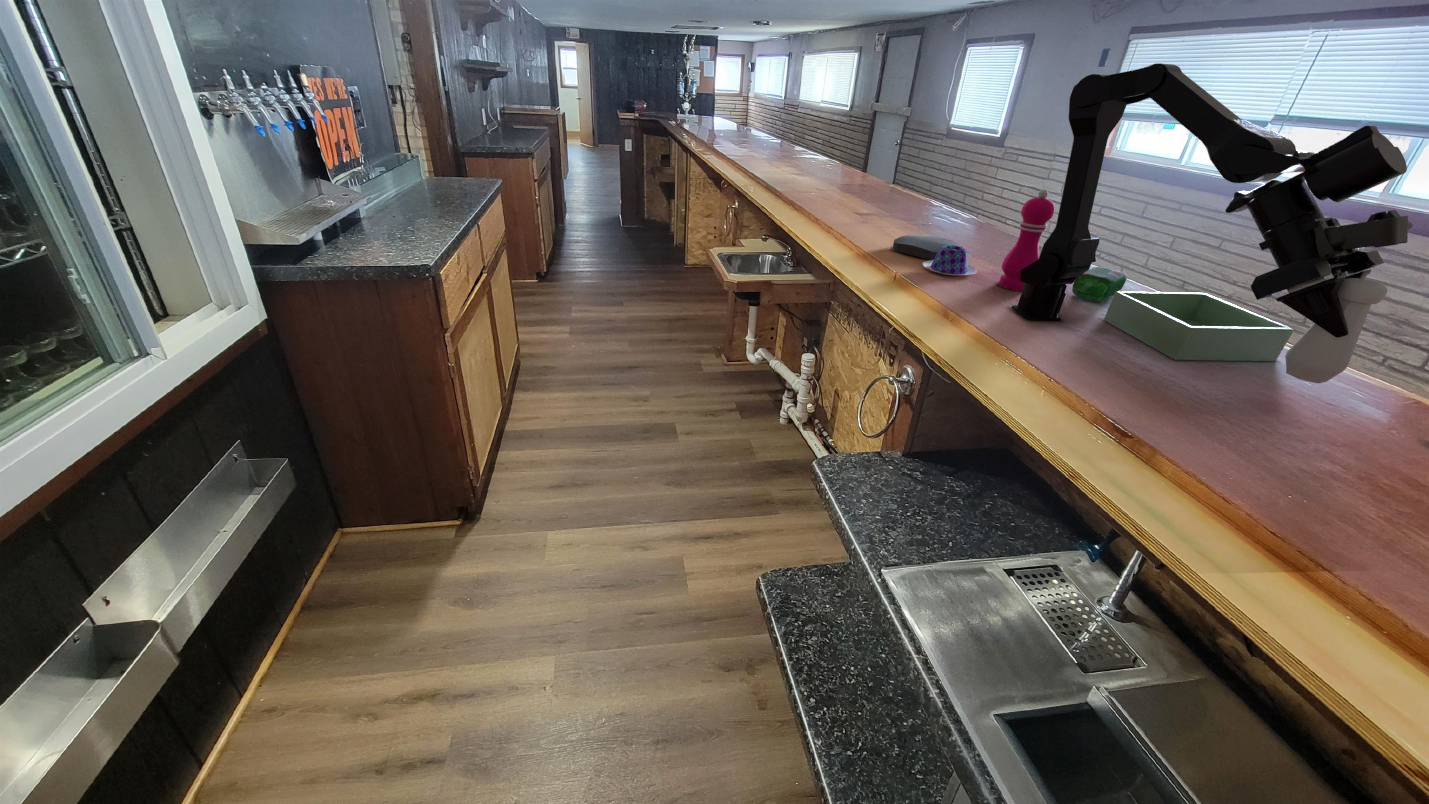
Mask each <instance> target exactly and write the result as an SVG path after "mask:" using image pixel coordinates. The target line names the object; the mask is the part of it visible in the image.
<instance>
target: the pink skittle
mask: <svg viewBox="0 0 1429 804" xmlns="http://www.w3.org/2000/svg"><path fill="white" fill-rule="evenodd" d="M1048 195H1049V191H1048V190H1047V189H1041V190H1039V191H1038V193H1037V197H1033V198H1030V199H1028V200H1027V201H1025V203H1024V204H1023V205H1022V207H1021V210H1020V216H1021V217H1022V220H1021V221H1020V222H1019V223H1020V225H1019V226H1018V229H1020V231H1019V236H1018V238H1017V241H1016V242H1015V245H1014V246H1013V247H1012V249H1011V250H1010V251H1008V253H1007V254H1006V256H1005V257H1004V259H1003V261H1002V263H1001V269H1002V272H1003V274H1002V275H1001V276H1000V278H999V281H998V285H999V286H1000V287H1002V288H1004V289H1008V290H1010V291H1017V292H1022V290H1023V287H1024V284H1025V283H1024V282H1021V270H1022V269H1023V268H1025V267H1027V266H1028V265H1030V264H1032V263H1033V262H1035V261H1037V260H1038V259H1039V256H1040V252H1039V245H1040V241H1041V237H1042V235H1043V233H1045V232H1046V231H1047V227H1048V224H1047V222H1049V221H1050V220H1051V219H1052V218H1053V216H1055V212H1056V206H1055V203H1054V202H1053V201H1052V200H1051V199H1049V198H1047V197H1048Z"/></svg>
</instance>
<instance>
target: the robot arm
mask: <svg viewBox="0 0 1429 804" xmlns="http://www.w3.org/2000/svg"><path fill="white" fill-rule="evenodd" d="M1069 94H1070V95H1069V98H1068V99H1069V100H1068V117H1067V118H1068V122H1069V126H1070V130H1071V133H1072V136H1073V141H1072V145H1071V150H1070V153H1069V160H1068V165H1067V170H1066V175H1065V179H1064V185H1063V189H1062V194H1061V199H1060V205H1059V209H1058V214H1057V219H1056V223H1055V226H1054V229H1053V230H1052V232H1051V233H1050V234H1049V236H1048V237H1047V239H1046V240H1045V241H1044V243H1043V245H1042V248H1041V251H1040V252H1039V259H1038V260H1037V261H1035V262H1033V263H1032V264H1030V265H1028V266H1027V267H1025V268H1023V269H1022V270H1021V282H1024V283H1025V284H1024V287H1023V290H1022V291H1021V294H1020V295H1019V296H1020V297H1019V300H1018V302H1017V305H1016V304H1012V305H1011V309H1012V310H1014V311H1015V312H1017V313H1018V314H1020V315H1021V316H1023V318H1025V319H1027V320H1031V321H1035V320H1036V321H1038V320H1039V321H1042V320H1043V321H1062V316H1061V315H1059V314H1060V313H1061V309H1062V307H1063V304H1064V301H1065V298H1066V295H1067V293H1066V291H1067V287H1068V285H1073V284H1074V281H1075V280H1076V279H1077V277H1078V276H1081V275H1082V274H1084V273H1085V272H1087V271H1088V270H1089V269H1091V266H1092V263H1096V262H1097V258H1096V253H1097V249H1098V247H1099V245H1100V237H1095V238H1092V236H1091V232H1090V230H1089V225H1090V220H1091V216H1092V211H1093V207H1094V203H1095V198H1096V193H1097V189H1098V185H1099V180H1100V176H1101V171H1102V168H1103V167H1102V166H1103V162H1104V158H1105V153H1106V148H1107V144H1108V140H1109V137H1110V135H1111V134H1112V132H1113V131H1114V129H1115V128H1116V126H1117V125H1118V123H1119V122H1120V121H1121V119H1122V117H1123V116H1124V114H1125V111H1126V108H1127V106H1128V105H1132V104H1136V103H1140V102H1143V101H1146V100H1148V99H1151V100H1152V101H1153V102H1155V103H1156V105H1158V106H1159V107H1161V109H1163V110H1164V111H1165V112H1166V113H1167V114H1168V115H1170V116H1171V117H1172V118H1173V119H1174V120H1176V121H1177V122H1178V123H1179V124H1180V125H1181V126H1183V127H1184V128H1185V129H1186V130H1188V132H1190V133H1191V134H1192V135H1193V136H1195V137H1196V138H1197V139H1198V140H1199V141H1200V142H1201V143H1202V144H1203V146H1204V147H1205V148H1206V151H1207V154H1208V158H1209V160H1210V161H1211V163H1212V164H1213V166H1214V167H1215V169H1216V170H1217V172H1218V173H1219V175H1221V177H1222V178H1223V179H1224V180H1225V181H1227V182H1229V183H1231V184H1249V183H1250V184H1251V183H1263V182H1266V183H1264V184H1262V185H1259V186H1258V187H1256V188H1254V189H1252V190H1250V191H1246V190H1242V191H1235V192H1234V193H1233V196H1232V199H1231V201H1230V202H1229V204H1228V205H1227V206H1226V208H1225V210H1224V211H1225V213H1227V214H1231V213H1232V214H1233V213H1240V212H1241V213H1242V212H1244V211H1246V210H1248V212H1249V214H1250V215H1251V217H1252V220H1253V221H1254V223H1255V225H1256V227H1257V229H1258V230H1259V233H1260V235H1261V236H1262V238H1263V240H1264V241H1262V242H1259V243H1258V246H1259V248H1260V250H1261V251H1267V250H1269V252H1270V254H1271V257H1272V258H1273V260H1274V262H1275V264H1276V265H1277V268H1275V269H1272V270H1270V271H1267V272H1265V273H1262V274H1260V275H1257V276H1255V277H1254V279H1253V281H1252V282H1251V285H1250V289H1251V291H1252V293H1253V296H1254V297H1255V299H1256V301H1258V300H1264V299H1268V298H1269V297H1273V295H1275V294H1277V293H1280V292H1283V291H1285V290H1286V291H1287V294H1284V295H1281V296H1278V297H1276V298H1275V301H1276V302H1277V303H1282V304H1284V305H1285V306H1287V307H1288V308H1290V309H1291V310H1294V311H1295V312H1297V314H1300V315H1301V316H1303V317H1304V318H1306V319H1308V320H1309V321H1311V322H1312V323H1313V324H1314V323H1315V324H1317V325H1318V326H1320V327H1321V328H1323V329H1324V330H1325V331H1327V332H1328V333H1330V334H1331V335H1333V336H1334V337H1336V338H1339V337H1343V336H1346V335H1348V334H1349V332H1348V327H1347V323H1346V320H1345V316H1344V313H1343V310H1342V307H1341V303H1340V300H1339V297H1338V290H1339V288H1340V286H1341V285H1342V283H1343V281H1344V280H1345V279H1347V278H1360V279H1366V277H1367V276H1368V275H1370V274H1371V272H1372V268H1375V267H1378V266H1380V265H1383V264H1385V262H1384V260H1383V258H1382V257H1381V255H1380V253H1379V251H1378V250H1377V249H1372V248H1369V247H1374V248H1384V247H1391V246H1397V245H1400V244H1407V243H1408V236H1409V232H1408V231H1409V230H1410V229H1412V227H1413V223H1412V222H1411V221H1409V215H1402V216H1401V215H1400V214H1399V212H1398V211H1397V210H1396V209H1391V210H1385V211H1378V212H1373V213H1371V214H1370V216H1369V217H1368V219H1367V220H1366V221H1363V222H1362V221H1361V222H1357V223H1350V224H1343V225H1341V224H1340V222H1339V220H1338V218H1336V217H1333V216H1331V217H1329V216H1328V217H1325V215H1324V213H1323V212H1322V210H1321V208H1320V207H1319V205H1318V202H1317V201H1316V199H1317V200H1319V201H1321V202H1322V201H1325V200H1328V199H1329V200H1331V201H1332V202H1334V203H1341V202H1343V201H1346V200H1348V199H1350V198H1352V197H1354V196H1357V195H1358V194H1361V193H1363V192H1366V191H1368V190H1370V189H1372V188H1374V187H1376V186H1380V185H1381V184H1384V183H1386V182H1388V181H1391V180H1393V179H1395V178H1397V177H1399V176H1402V175H1404V174H1406V173H1407V172H1408V171H1407V170H1408V166H1407V161H1406V160H1405V159H1406V158H1405V157H1404V155H1403V152H1402V151H1401V149H1400V148H1399V147H1398V146H1395V145H1394V144H1393V143H1392V141H1390V139H1389V138H1387V137H1386V136H1385V135H1383V134H1382V133H1381V132H1380V130H1379V129H1378V127H1377V126H1376V125H1364V126H1362V127H1360V128H1358V129H1356V130H1354V131H1353V132H1351V133H1350V134H1349V135H1347V136H1346V137H1344V138H1343V139H1340V140H1339V141H1337V142H1335V143H1333V144H1331V145H1329V146H1327V147H1325V148H1323V149H1322V150H1319V151H1317V152H1316V153H1315V151H1305V150H1301V149H1297V147H1296V145H1295V143H1294V142H1293V141H1292V140H1291V139H1289V138H1288V137H1286V136H1285V135H1282V134H1279V133H1278V132H1275V131H1273V130H1271V129H1269V128H1266V127H1263V126H1260V125H1258V124H1255V123H1252V122H1250V121H1247V120H1245V119H1243V118H1241V117H1239V116H1238V115H1237V114H1236V113H1234V112H1233V111H1232V110H1230V109H1229V108H1228V107H1227V106H1226V105H1224V104H1223V103H1221V102H1220V101H1219V100H1218V99H1216V98H1215V97H1214V96H1213V95H1211V94H1210V92H1208V91H1207V90H1205V89H1204V88H1203V87H1202V86H1200V85H1199V84H1197V83H1196V82H1195V81H1194V80H1193V79H1191V78H1190V77H1189V76H1187V74H1185V73H1184V72H1183V71H1182V69H1181V67H1180V66H1178V65H1176V64H1171V63H1163V62H1162V63H1161V62H1160V63H1158V62H1157V63H1153V64H1150V65H1147V66H1145V67H1140V68H1136V69H1131V70H1127V71H1121V72H1118V73H1112V74H1100V73H1099V74H1098V73H1092V74H1089V75H1085V76H1084V77H1083V78H1081V79H1080V80H1079V81H1078V82H1077V84H1075V85H1073V87H1072V89H1071V92H1070V93H1069ZM1287 173H1298V174H1296V175H1294V176H1292V177H1290V178H1288V179H1286V180H1283V181H1281V180H1277V178H1279V177H1280V176H1282V175H1283V174H1287Z"/></svg>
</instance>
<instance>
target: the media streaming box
mask: <svg viewBox="0 0 1429 804" xmlns="http://www.w3.org/2000/svg"><path fill="white" fill-rule="evenodd" d="M945 245H950V246H952V245H953V246H958V247H963V248H964V245H963V244H961V243H960V242H957V241H954V240H952V239H949V238H944V237H940V236H933V235H917V234H916V235H915V234H906V235H902V236H899V237H897V238H895V239H894V240H893V243H892V250H893V251H895V252H898V253H902V254H906V255H909V256H912V257H913V256H914V257H918V258H922V259H926V260H929V261H930V260H934V259H935V257H936V255H937V253H938V251H939V249H940V248H941V247H942V246H945Z"/></svg>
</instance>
